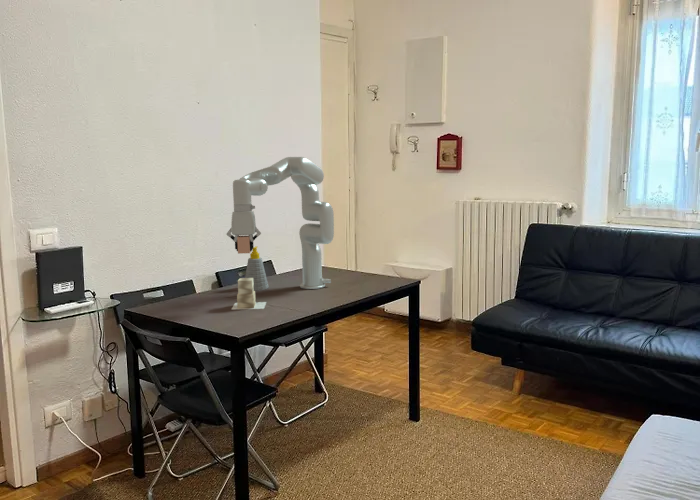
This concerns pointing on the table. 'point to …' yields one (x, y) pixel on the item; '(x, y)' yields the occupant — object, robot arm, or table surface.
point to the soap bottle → (256, 271)
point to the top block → (243, 244)
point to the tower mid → (245, 286)
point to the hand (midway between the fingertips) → (244, 250)
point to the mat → (257, 306)
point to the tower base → (246, 300)
